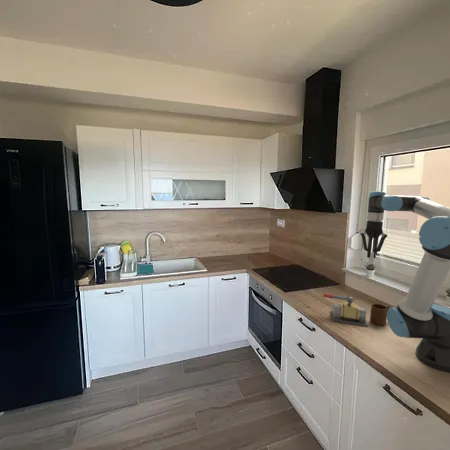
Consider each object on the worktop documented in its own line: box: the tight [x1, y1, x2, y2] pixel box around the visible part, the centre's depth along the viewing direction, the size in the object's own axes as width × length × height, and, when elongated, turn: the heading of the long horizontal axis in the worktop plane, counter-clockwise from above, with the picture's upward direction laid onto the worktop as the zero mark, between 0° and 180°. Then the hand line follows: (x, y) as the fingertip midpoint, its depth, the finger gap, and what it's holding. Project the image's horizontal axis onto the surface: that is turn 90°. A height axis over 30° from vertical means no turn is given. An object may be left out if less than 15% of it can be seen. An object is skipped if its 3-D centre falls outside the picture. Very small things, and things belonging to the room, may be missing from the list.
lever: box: [322, 292, 355, 303], centre depth 144 cm, size 16×4×2 cm, turn 69°
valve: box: [330, 301, 369, 328], centre depth 143 cm, size 12×17×10 cm
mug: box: [369, 303, 391, 327], centre depth 140 cm, size 12×8×9 cm, turn 111°
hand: (370, 263), depth 139 cm, fingers closed
